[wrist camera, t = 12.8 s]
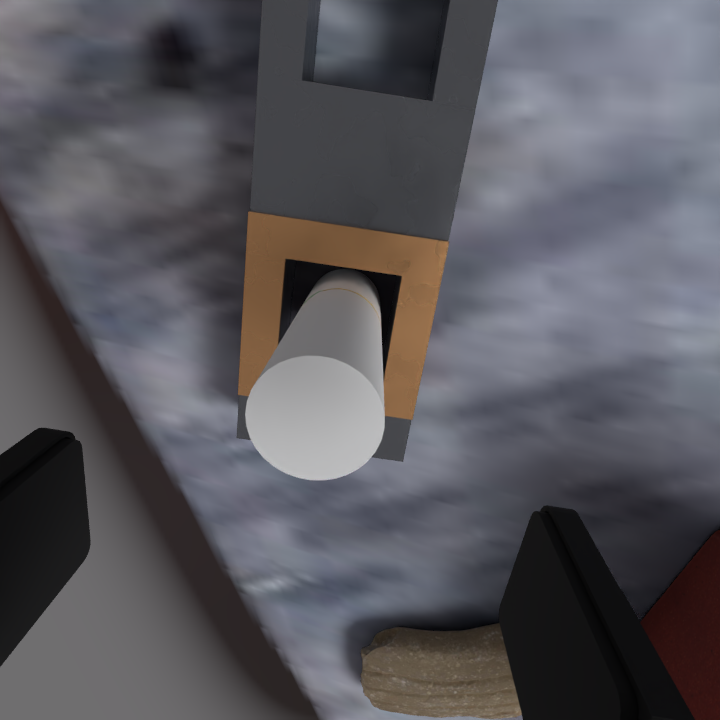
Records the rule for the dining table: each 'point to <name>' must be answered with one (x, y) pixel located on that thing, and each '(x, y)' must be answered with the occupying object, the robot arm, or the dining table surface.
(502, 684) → the decorative stone
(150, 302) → the dining table surface
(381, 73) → the dining table surface
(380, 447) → the rack
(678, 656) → the plant pot
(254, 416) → the tube
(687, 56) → the dining table surface
